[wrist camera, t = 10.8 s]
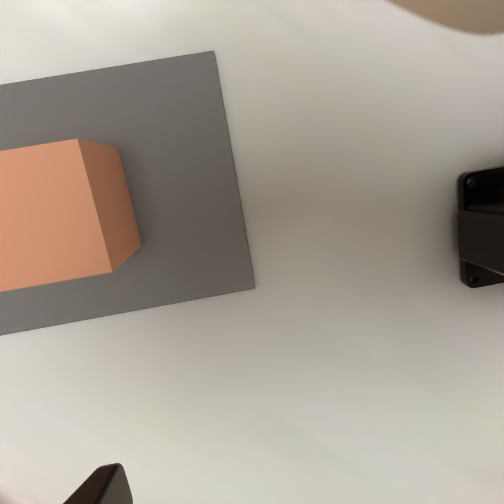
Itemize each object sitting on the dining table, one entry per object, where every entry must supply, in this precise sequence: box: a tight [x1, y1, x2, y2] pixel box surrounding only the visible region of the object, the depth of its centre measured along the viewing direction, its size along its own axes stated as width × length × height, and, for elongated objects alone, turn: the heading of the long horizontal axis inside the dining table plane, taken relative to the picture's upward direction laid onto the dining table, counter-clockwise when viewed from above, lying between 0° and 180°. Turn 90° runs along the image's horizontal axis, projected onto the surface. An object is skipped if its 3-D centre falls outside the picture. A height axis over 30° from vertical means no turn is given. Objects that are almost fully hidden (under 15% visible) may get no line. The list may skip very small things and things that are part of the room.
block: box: [0, 139, 142, 292], centre depth 16 cm, size 5×5×5 cm
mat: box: [0, 51, 255, 336], centre depth 18 cm, size 16×12×1 cm
